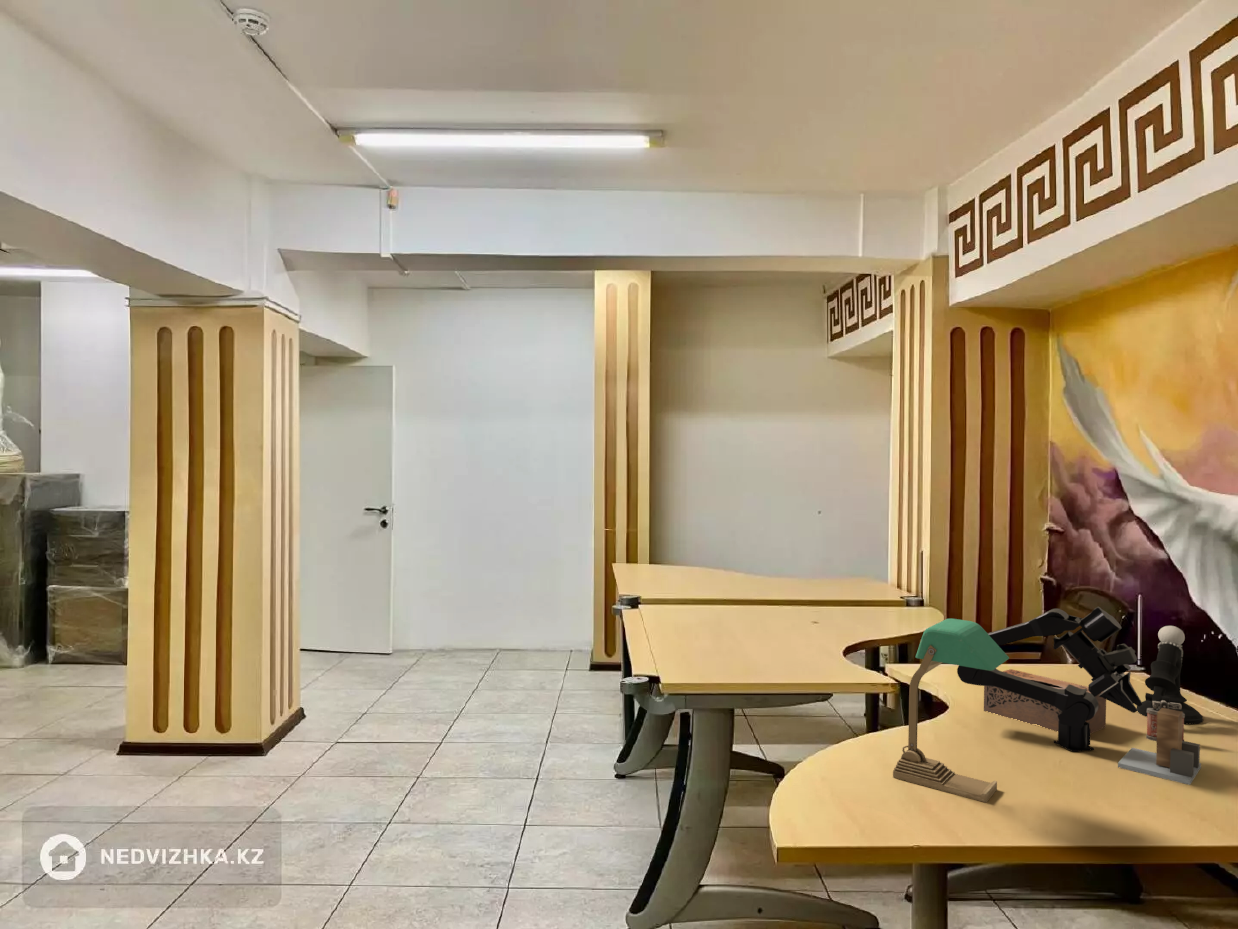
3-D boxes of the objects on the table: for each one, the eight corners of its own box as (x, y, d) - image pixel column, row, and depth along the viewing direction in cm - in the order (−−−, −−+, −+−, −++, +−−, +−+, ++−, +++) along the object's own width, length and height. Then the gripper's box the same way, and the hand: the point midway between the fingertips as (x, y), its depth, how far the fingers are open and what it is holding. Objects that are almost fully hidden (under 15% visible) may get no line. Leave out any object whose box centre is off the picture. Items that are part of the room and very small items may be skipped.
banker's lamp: (911, 761, 185) (914, 612, 184) (1008, 786, 171) (1011, 625, 171) (886, 782, 172) (889, 622, 172) (988, 810, 159) (992, 637, 159)
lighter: (1146, 740, 202) (1147, 700, 201) (1145, 735, 205) (1146, 697, 204) (1185, 745, 198) (1186, 705, 198) (1183, 741, 201) (1184, 702, 201)
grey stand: (1117, 767, 183) (1118, 741, 183) (1131, 751, 193) (1132, 727, 193) (1189, 785, 173) (1190, 757, 173) (1200, 767, 183) (1201, 742, 183)
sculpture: (1207, 716, 221) (1209, 627, 221) (1190, 736, 205) (1192, 640, 205) (1143, 703, 232) (1145, 618, 232) (1122, 721, 216) (1124, 630, 215)
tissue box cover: (983, 711, 223) (984, 676, 223) (1010, 703, 232) (1010, 669, 231) (1080, 739, 202) (1081, 700, 202) (1105, 728, 211) (1106, 691, 211)
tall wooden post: (1156, 764, 182) (1157, 712, 181) (1160, 758, 185) (1161, 707, 185) (1177, 769, 179) (1178, 716, 179) (1181, 763, 182) (1182, 711, 182)
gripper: (1105, 640, 183) (1161, 698, 176) (1121, 628, 197) (1174, 681, 190) (1066, 667, 188) (1119, 725, 181) (1084, 654, 202) (1134, 707, 195)
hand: (1138, 708), depth 187 cm, fingers open, 6 cm apart
